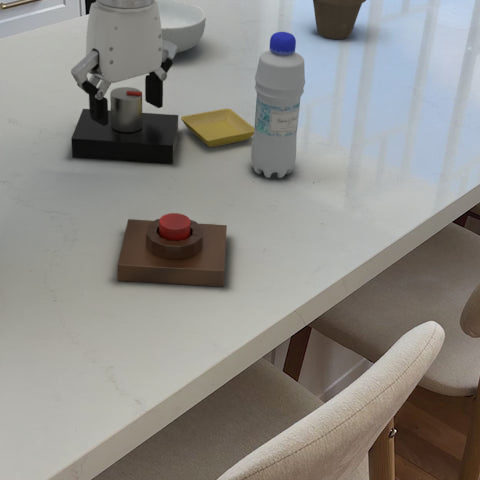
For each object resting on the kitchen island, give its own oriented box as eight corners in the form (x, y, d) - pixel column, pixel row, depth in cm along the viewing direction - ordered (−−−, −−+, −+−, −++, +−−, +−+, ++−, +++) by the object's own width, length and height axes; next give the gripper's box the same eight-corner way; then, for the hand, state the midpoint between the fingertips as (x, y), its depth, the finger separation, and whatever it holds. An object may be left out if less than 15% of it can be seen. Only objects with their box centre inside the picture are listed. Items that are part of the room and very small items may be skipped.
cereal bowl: (178, 74, 152) (179, 34, 148) (93, 54, 156) (92, 14, 152) (219, 44, 165) (221, 7, 161) (140, 27, 169) (140, -11, 165)
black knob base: (72, 157, 124) (71, 138, 122) (83, 127, 132) (82, 108, 130) (172, 164, 125) (173, 145, 123) (177, 133, 133) (178, 115, 131)
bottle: (263, 185, 122) (274, 44, 110) (239, 164, 126) (248, 27, 115) (304, 177, 125) (320, 39, 113) (280, 156, 129) (293, 22, 118)
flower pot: (323, 47, 168) (329, -6, 163) (293, 27, 176) (298, -24, 171) (373, 41, 174) (381, -11, 168) (342, 22, 181) (348, -28, 176)
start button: (157, 241, 101) (157, 228, 100) (160, 224, 104) (160, 212, 103) (189, 243, 102) (189, 230, 101) (191, 226, 105) (191, 213, 104)
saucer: (257, 143, 132) (258, 130, 131) (206, 153, 128) (207, 140, 127) (228, 120, 138) (229, 107, 137) (179, 129, 134) (179, 116, 133)
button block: (117, 280, 101) (117, 251, 98) (128, 234, 109) (127, 206, 107) (223, 286, 101) (225, 257, 99) (225, 240, 110) (227, 212, 107)
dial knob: (109, 131, 125) (108, 96, 122) (113, 118, 128) (112, 83, 125) (140, 133, 125) (140, 98, 122) (143, 120, 129) (143, 86, 126)
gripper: (157, -26, 123) (157, 90, 133) (52, -4, 113) (60, 119, 122) (193, -11, 119) (190, 107, 129) (88, 12, 109) (93, 139, 118)
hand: (127, 113), depth 126 cm, fingers open, 9 cm apart
